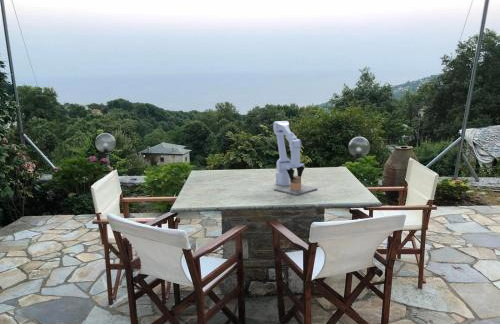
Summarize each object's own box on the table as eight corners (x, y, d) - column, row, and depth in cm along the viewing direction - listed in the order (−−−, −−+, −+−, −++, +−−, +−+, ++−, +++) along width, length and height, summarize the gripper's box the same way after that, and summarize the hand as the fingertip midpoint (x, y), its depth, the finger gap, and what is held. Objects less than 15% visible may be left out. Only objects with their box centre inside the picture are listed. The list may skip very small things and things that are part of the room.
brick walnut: (290, 182, 257) (289, 176, 256) (294, 181, 259) (294, 175, 259) (296, 183, 252) (296, 177, 252) (301, 182, 255) (301, 176, 254)
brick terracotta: (290, 188, 257) (290, 182, 257) (294, 187, 260) (294, 181, 259) (297, 189, 253) (297, 183, 252) (301, 188, 256) (301, 182, 255)
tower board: (273, 190, 258) (273, 188, 258) (294, 185, 271) (294, 183, 270) (296, 195, 243) (296, 193, 243) (317, 189, 256) (317, 188, 255)
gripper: (292, 160, 245) (292, 181, 248) (307, 157, 255) (307, 178, 257) (284, 159, 251) (284, 179, 253) (299, 156, 260) (299, 176, 262)
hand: (295, 178), depth 255 cm, fingers open, 7 cm apart
